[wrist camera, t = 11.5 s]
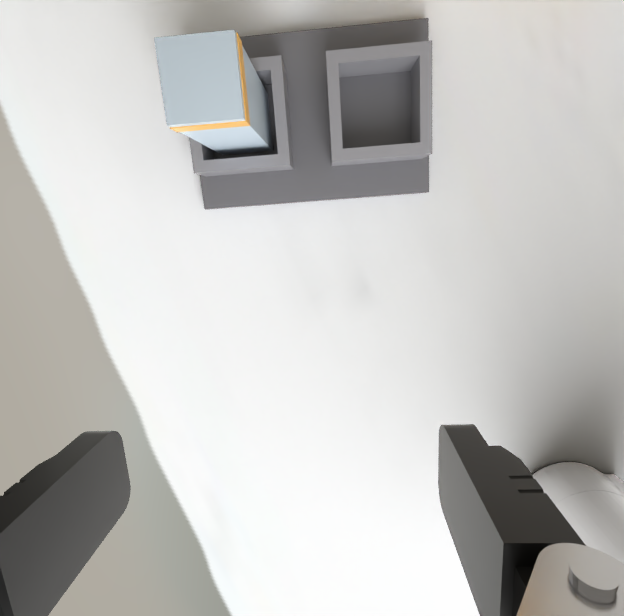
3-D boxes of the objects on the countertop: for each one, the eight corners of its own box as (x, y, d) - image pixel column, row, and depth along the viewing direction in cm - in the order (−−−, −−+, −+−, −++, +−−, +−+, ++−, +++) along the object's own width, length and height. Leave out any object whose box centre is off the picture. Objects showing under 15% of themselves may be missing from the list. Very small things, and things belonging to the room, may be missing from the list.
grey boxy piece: (424, 24, 29) (439, -5, 25) (425, 192, 32) (439, 190, 28) (187, 48, 30) (166, 24, 26) (208, 209, 33) (192, 209, 29)
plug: (268, 93, 30) (235, 28, 19) (273, 151, 31) (244, 119, 20) (215, 98, 30) (152, 36, 19) (222, 155, 31) (166, 126, 20)
